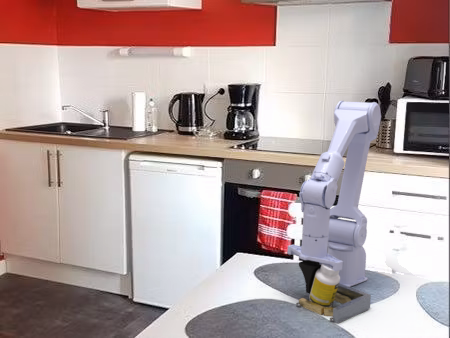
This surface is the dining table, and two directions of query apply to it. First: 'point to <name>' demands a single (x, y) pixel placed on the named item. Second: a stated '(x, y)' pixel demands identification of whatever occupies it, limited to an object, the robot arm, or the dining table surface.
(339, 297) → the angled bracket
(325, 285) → the supplement bottle
